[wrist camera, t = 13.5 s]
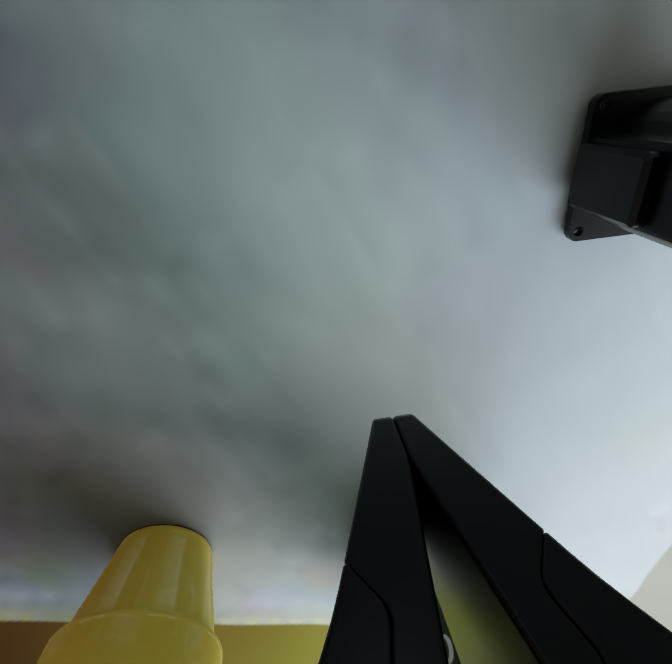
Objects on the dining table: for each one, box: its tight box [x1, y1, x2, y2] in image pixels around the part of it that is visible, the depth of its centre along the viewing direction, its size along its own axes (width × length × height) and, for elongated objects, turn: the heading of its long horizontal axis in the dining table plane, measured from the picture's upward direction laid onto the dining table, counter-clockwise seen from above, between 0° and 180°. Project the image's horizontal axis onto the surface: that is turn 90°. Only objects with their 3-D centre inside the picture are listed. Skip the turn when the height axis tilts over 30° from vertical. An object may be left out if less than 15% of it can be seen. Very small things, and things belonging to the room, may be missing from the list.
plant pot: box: [37, 525, 222, 664], centre depth 26 cm, size 10×10×10 cm
